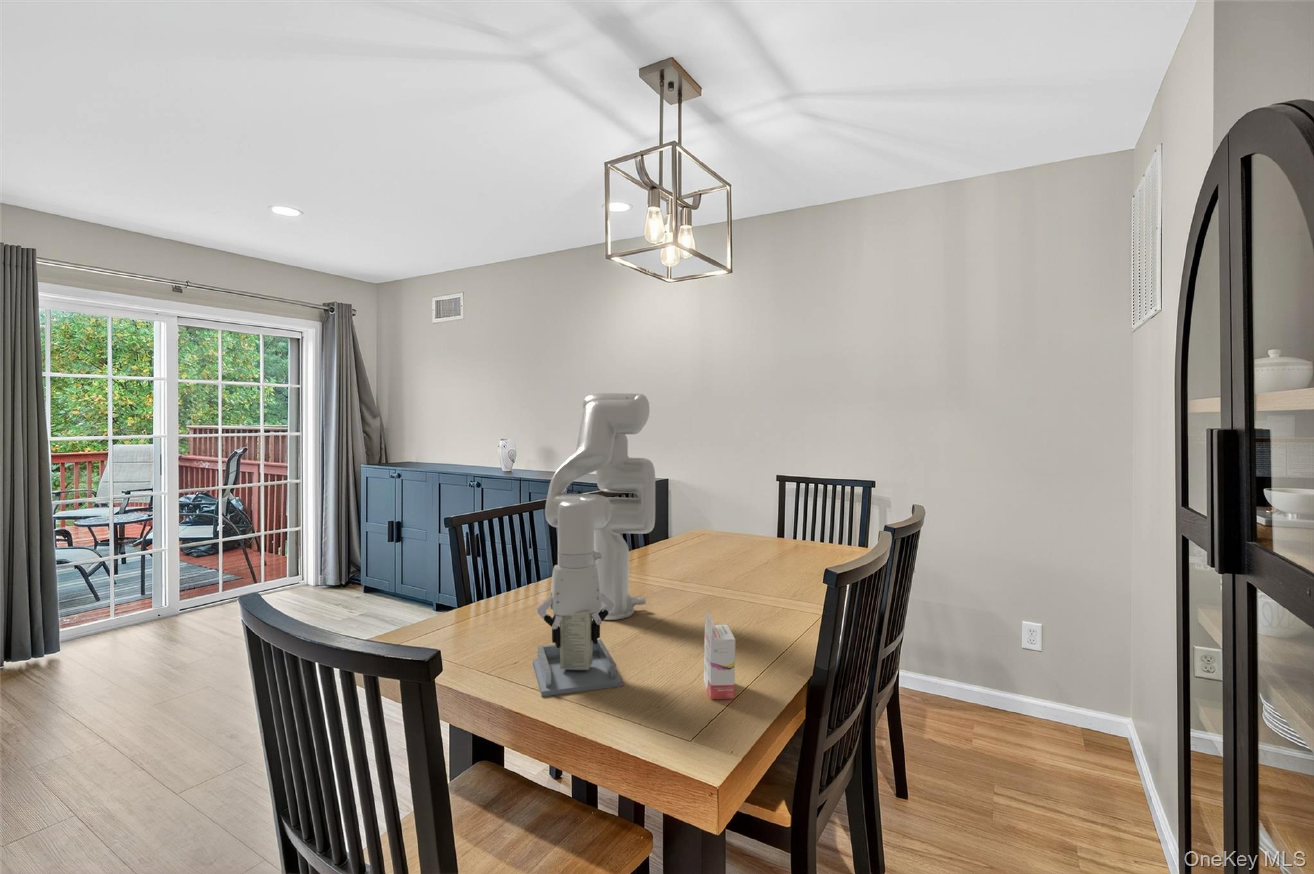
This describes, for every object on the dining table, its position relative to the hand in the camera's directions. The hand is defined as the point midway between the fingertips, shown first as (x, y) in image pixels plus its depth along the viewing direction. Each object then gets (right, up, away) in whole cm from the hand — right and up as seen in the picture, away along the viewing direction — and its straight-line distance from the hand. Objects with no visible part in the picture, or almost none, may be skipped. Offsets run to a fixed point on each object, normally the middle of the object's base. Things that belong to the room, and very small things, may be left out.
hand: (576, 643), depth 128 cm
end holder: (0, -7, 0) cm, 7 cm away
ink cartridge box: (+29, -7, -6) cm, 31 cm away
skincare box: (0, -5, 0) cm, 5 cm away
